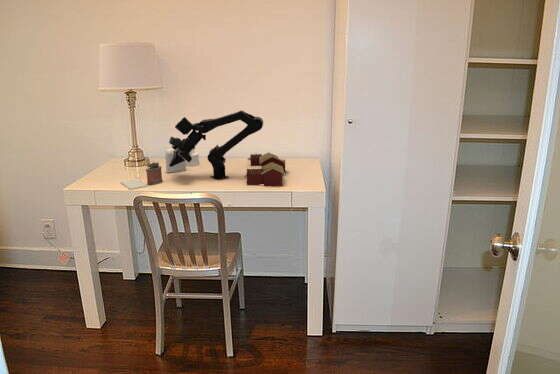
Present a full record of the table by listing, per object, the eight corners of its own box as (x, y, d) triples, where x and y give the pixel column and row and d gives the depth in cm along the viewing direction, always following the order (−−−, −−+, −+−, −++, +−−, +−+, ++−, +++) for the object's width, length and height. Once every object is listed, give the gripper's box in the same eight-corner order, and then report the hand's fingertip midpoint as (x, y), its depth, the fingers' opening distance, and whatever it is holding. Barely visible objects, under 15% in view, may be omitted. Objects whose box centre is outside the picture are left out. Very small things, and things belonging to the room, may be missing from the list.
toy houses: (288, 186, 217) (287, 165, 214) (243, 187, 216) (242, 166, 213) (282, 162, 260) (282, 144, 257) (245, 163, 259) (244, 145, 256)
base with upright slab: (184, 162, 261) (183, 141, 257) (200, 162, 260) (199, 141, 257) (180, 166, 252) (178, 144, 249) (197, 166, 252) (195, 144, 248)
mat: (148, 186, 218) (148, 185, 218) (130, 189, 213) (129, 188, 213) (137, 179, 229) (137, 178, 229) (120, 182, 224) (119, 181, 224)
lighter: (159, 180, 227) (158, 160, 224) (164, 181, 225) (162, 161, 222) (145, 184, 221) (143, 163, 218) (150, 185, 219) (148, 165, 216)
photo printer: (184, 168, 248) (182, 145, 244) (187, 170, 244) (185, 147, 241) (165, 171, 242) (163, 148, 239) (168, 173, 239) (166, 149, 235)
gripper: (174, 127, 230) (153, 151, 229) (183, 134, 214) (160, 160, 213) (191, 141, 235) (170, 165, 234) (201, 149, 219) (178, 175, 218)
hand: (169, 166), depth 225 cm, fingers closed
